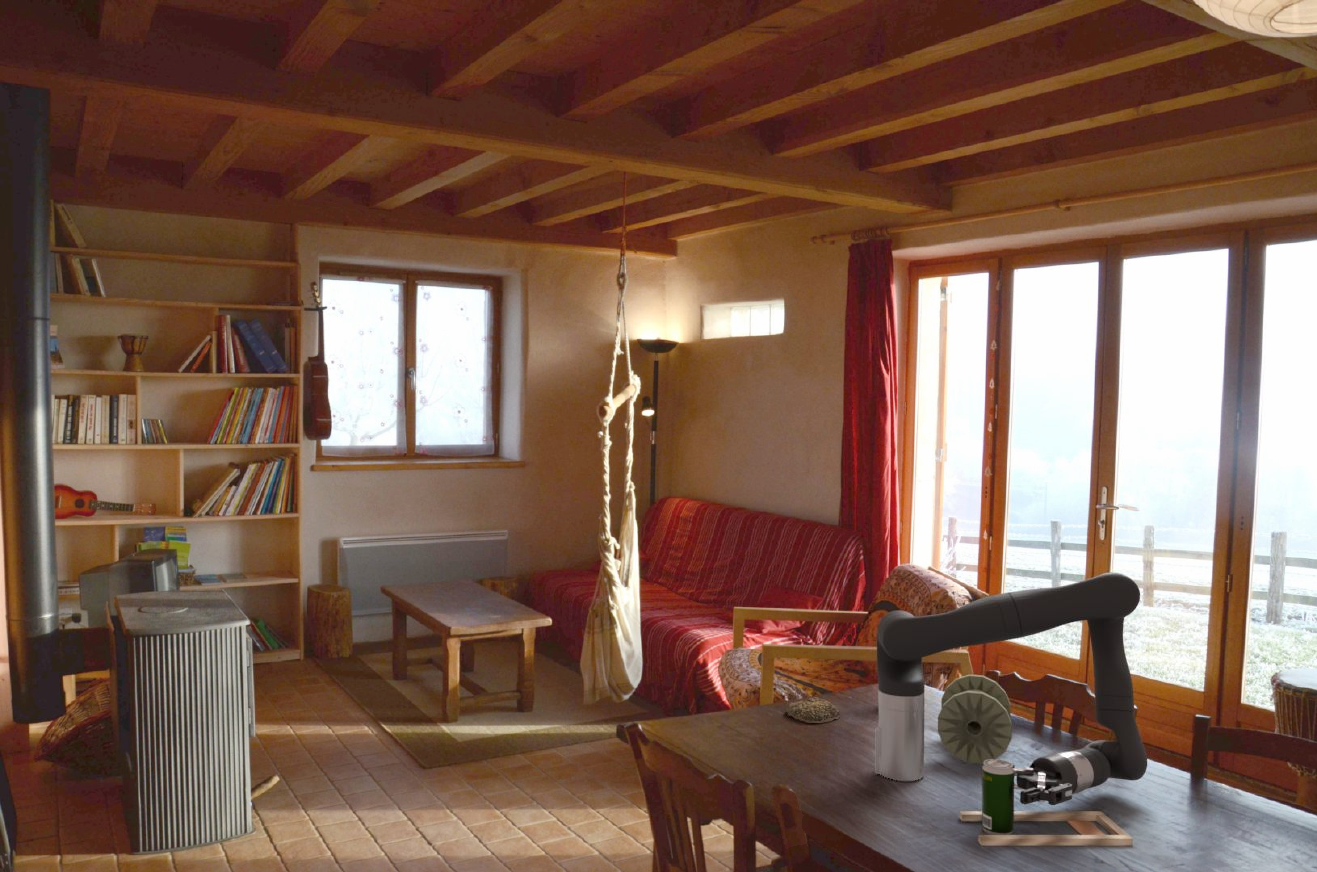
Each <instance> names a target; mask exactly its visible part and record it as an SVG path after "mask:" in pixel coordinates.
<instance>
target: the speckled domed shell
mask: <svg viewBox="0 0 1317 872" xmlns="http://www.w3.org/2000/svg"><path fill="white" fill-rule="evenodd" d="M784 711H785V712H786V711H787V712H788V713H789V714H793V715H794V716H796V717H799V718H803V719H805V720H809V721H821V720H826V719H830V718H835V717H838V716H839V715H840V714H841V711H839V709H838V708H837V707H836V706H835V704H832V703H831V702H830V701H828V700H827V699H822V698H819V697H816V696H815V697H810V698H808V699H804V700H799V701H795V702H794V703H793V702H790V703H789V704H787V707H786V708H785V710H784ZM840 716H841V715H840Z"/></svg>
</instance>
